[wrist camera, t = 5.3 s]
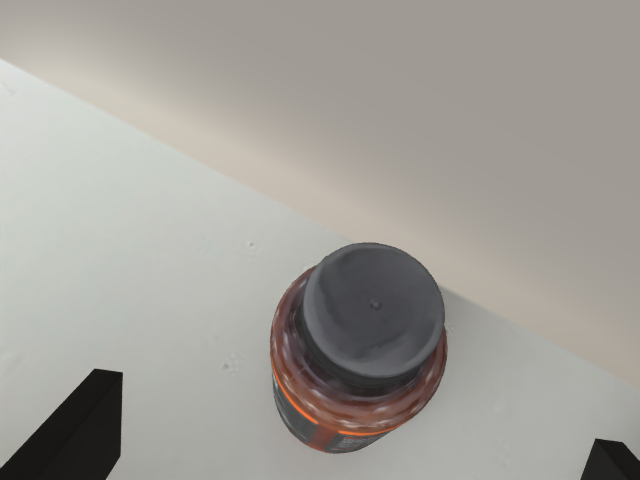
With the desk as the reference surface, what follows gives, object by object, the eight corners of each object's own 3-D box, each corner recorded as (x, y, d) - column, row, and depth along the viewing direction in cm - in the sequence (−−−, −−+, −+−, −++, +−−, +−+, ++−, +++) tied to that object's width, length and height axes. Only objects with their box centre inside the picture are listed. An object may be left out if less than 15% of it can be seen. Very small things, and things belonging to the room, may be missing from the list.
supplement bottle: (418, 390, 22) (527, 311, 12) (334, 485, 20) (387, 480, 10) (333, 307, 24) (370, 180, 14) (247, 385, 22) (221, 299, 12)
